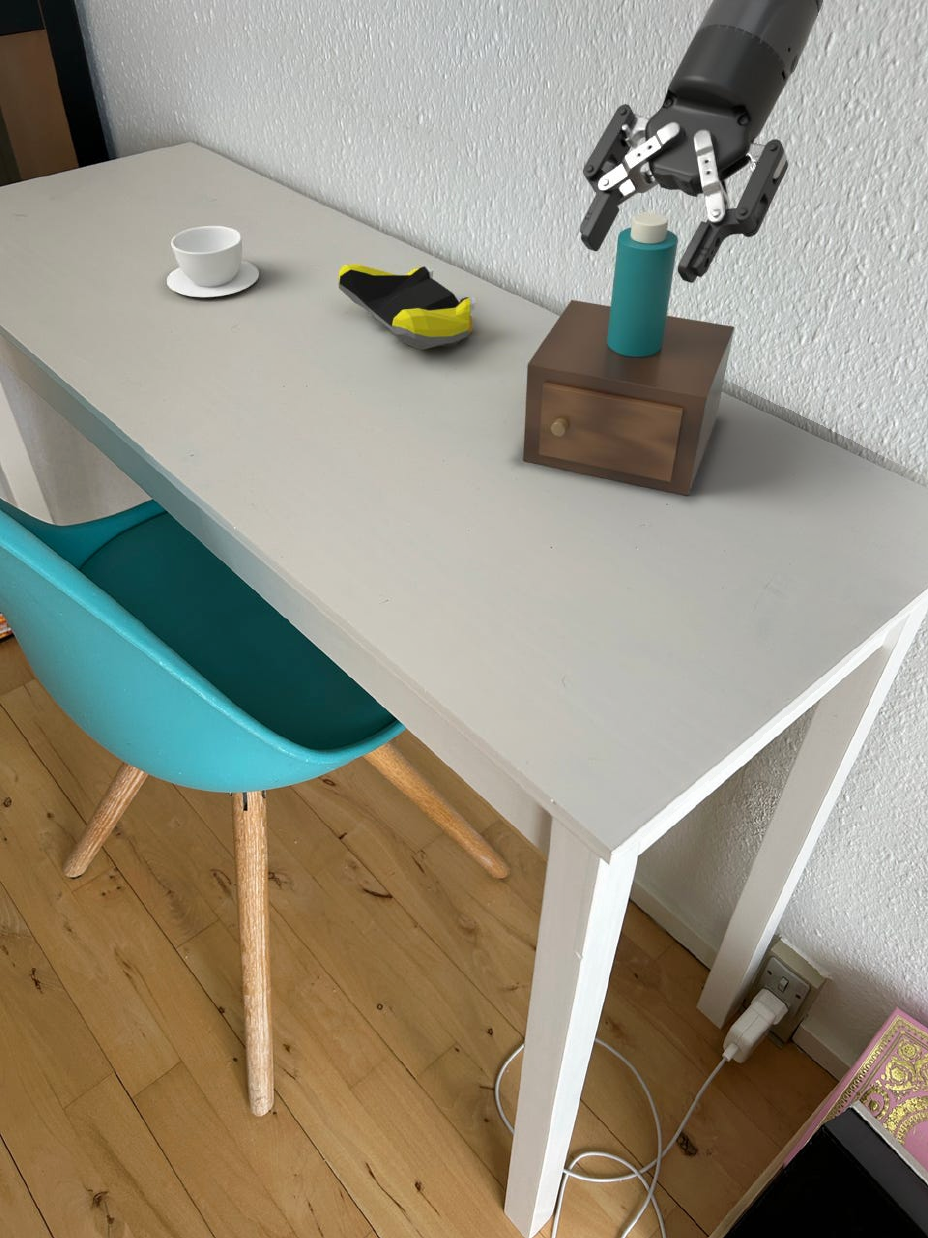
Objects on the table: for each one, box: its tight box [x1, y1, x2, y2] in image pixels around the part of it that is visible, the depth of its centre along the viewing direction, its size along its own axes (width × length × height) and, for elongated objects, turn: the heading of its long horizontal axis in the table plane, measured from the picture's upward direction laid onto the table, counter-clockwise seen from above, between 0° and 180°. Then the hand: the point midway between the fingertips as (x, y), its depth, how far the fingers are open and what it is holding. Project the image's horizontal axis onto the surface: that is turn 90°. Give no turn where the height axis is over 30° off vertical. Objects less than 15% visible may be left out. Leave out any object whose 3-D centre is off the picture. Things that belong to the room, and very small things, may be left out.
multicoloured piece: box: [337, 263, 476, 350], centre depth 97 cm, size 15×6×10 cm
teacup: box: [166, 225, 260, 298], centre depth 106 cm, size 10×10×5 cm
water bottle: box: [607, 211, 679, 357], centre depth 75 cm, size 4×4×10 cm
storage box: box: [522, 299, 735, 497], centre depth 81 cm, size 14×13×9 cm
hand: (635, 260), depth 72 cm, fingers open, 8 cm apart
